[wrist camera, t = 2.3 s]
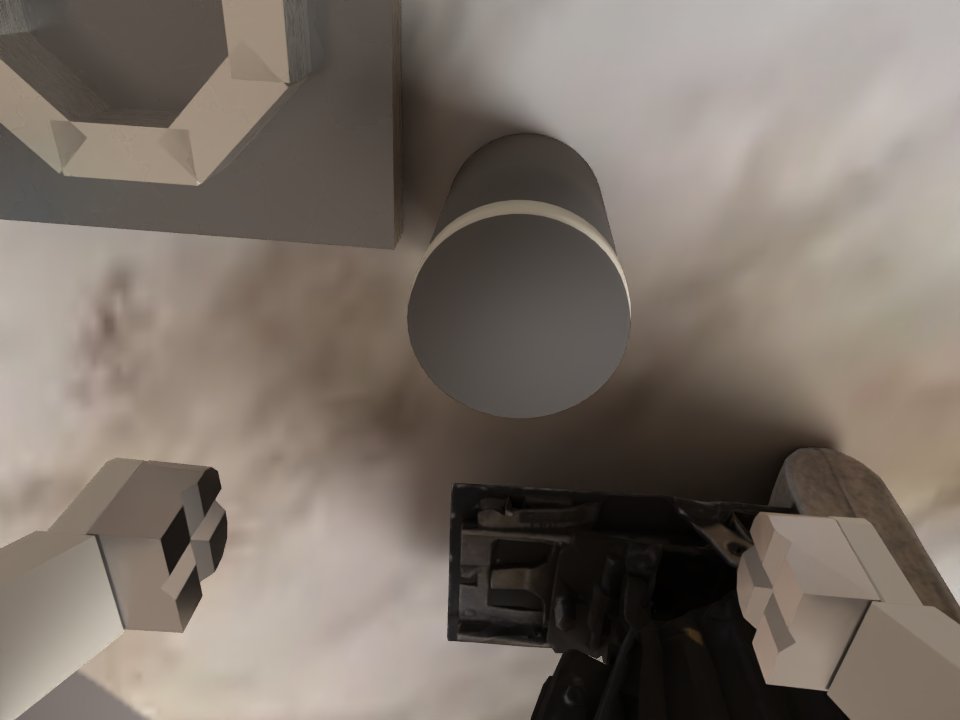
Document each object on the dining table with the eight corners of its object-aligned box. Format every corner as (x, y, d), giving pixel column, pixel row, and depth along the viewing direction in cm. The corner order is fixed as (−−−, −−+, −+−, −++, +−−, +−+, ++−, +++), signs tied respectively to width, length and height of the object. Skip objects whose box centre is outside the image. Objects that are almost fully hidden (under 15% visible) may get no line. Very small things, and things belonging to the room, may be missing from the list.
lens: (615, 138, 21) (652, 226, 14) (592, 290, 24) (614, 428, 17) (448, 126, 21) (404, 208, 14) (444, 278, 24) (405, 410, 17)
